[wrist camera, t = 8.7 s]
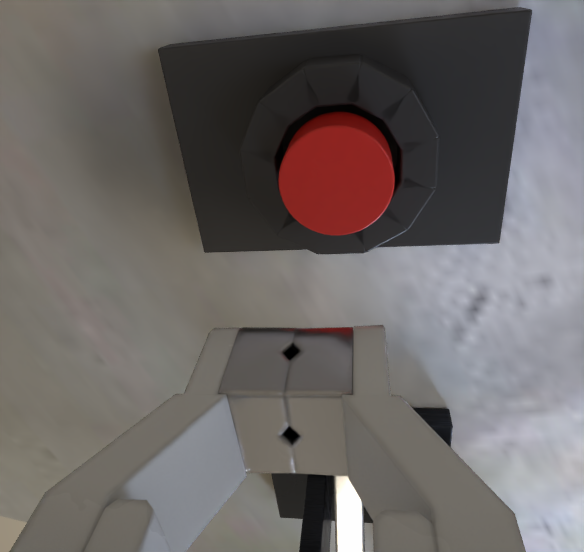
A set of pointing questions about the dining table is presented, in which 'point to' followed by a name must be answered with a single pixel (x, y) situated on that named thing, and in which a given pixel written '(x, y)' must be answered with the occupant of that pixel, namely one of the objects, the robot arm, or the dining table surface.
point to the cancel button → (337, 174)
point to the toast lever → (348, 517)
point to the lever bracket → (331, 492)
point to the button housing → (364, 102)
